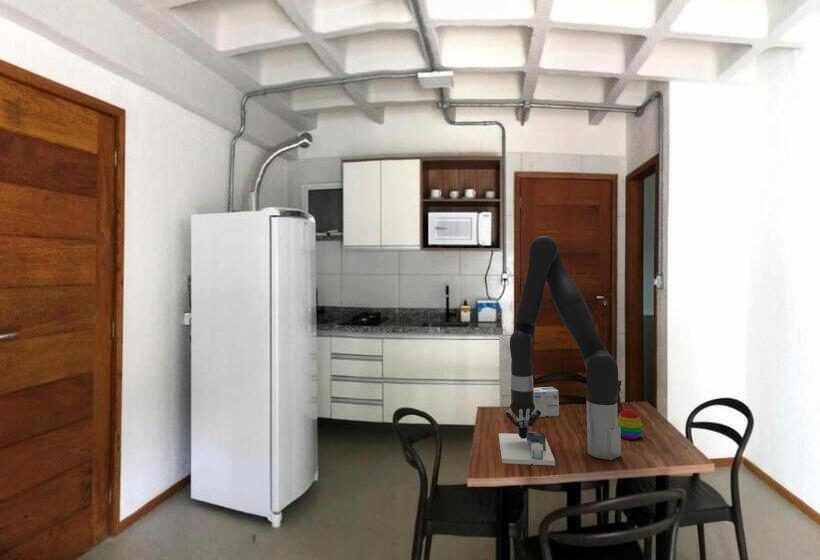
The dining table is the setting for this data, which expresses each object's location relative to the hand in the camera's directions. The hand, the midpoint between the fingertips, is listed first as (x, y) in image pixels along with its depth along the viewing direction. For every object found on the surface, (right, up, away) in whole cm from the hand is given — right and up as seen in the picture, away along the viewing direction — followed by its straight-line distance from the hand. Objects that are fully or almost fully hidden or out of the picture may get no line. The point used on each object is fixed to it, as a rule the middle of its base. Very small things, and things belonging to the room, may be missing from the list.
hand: (523, 437), depth 150 cm
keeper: (+3, -1, -6) cm, 7 cm away
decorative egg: (+40, -2, +6) cm, 40 cm away
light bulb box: (+18, -3, +33) cm, 38 cm away
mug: (+43, -2, +34) cm, 55 cm away
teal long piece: (+2, -1, -6) cm, 7 cm away
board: (0, -3, -3) cm, 4 cm away
